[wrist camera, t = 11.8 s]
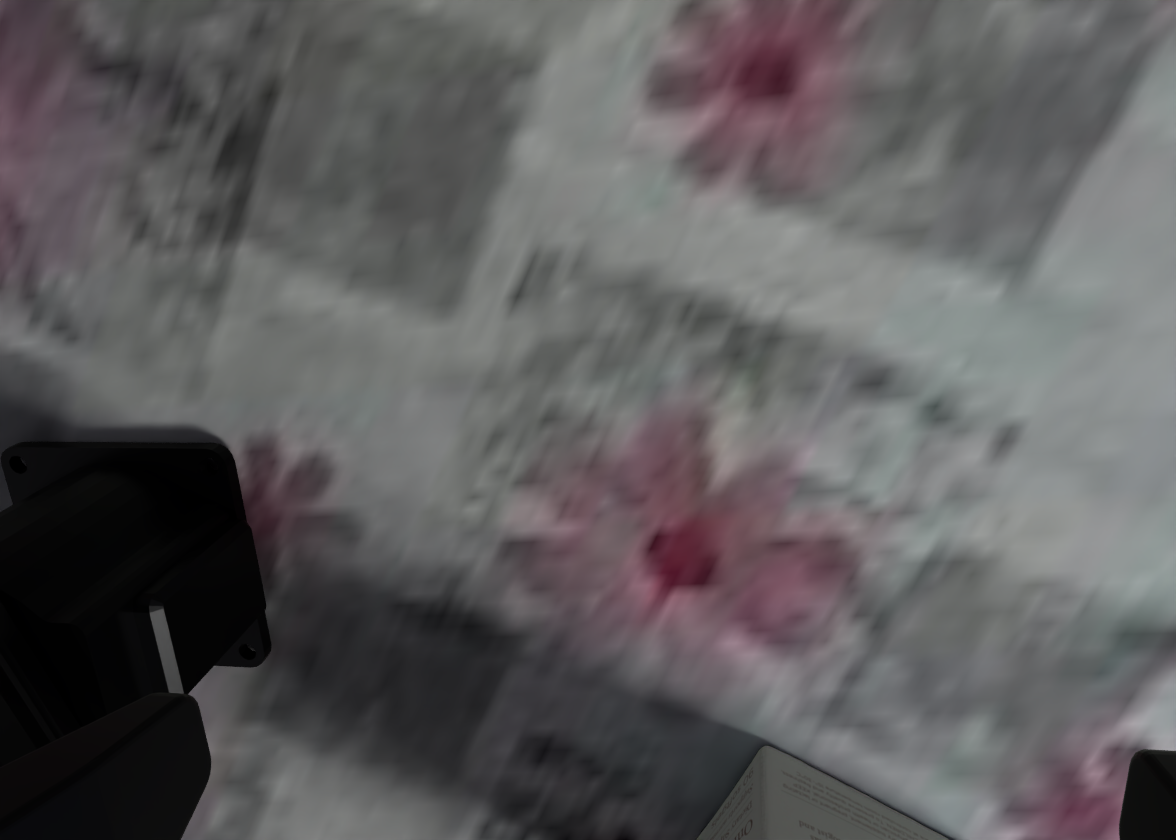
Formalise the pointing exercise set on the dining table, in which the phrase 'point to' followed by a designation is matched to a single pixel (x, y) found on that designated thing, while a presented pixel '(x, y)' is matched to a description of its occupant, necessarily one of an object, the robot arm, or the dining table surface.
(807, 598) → the dining table surface
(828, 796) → the supplement box
